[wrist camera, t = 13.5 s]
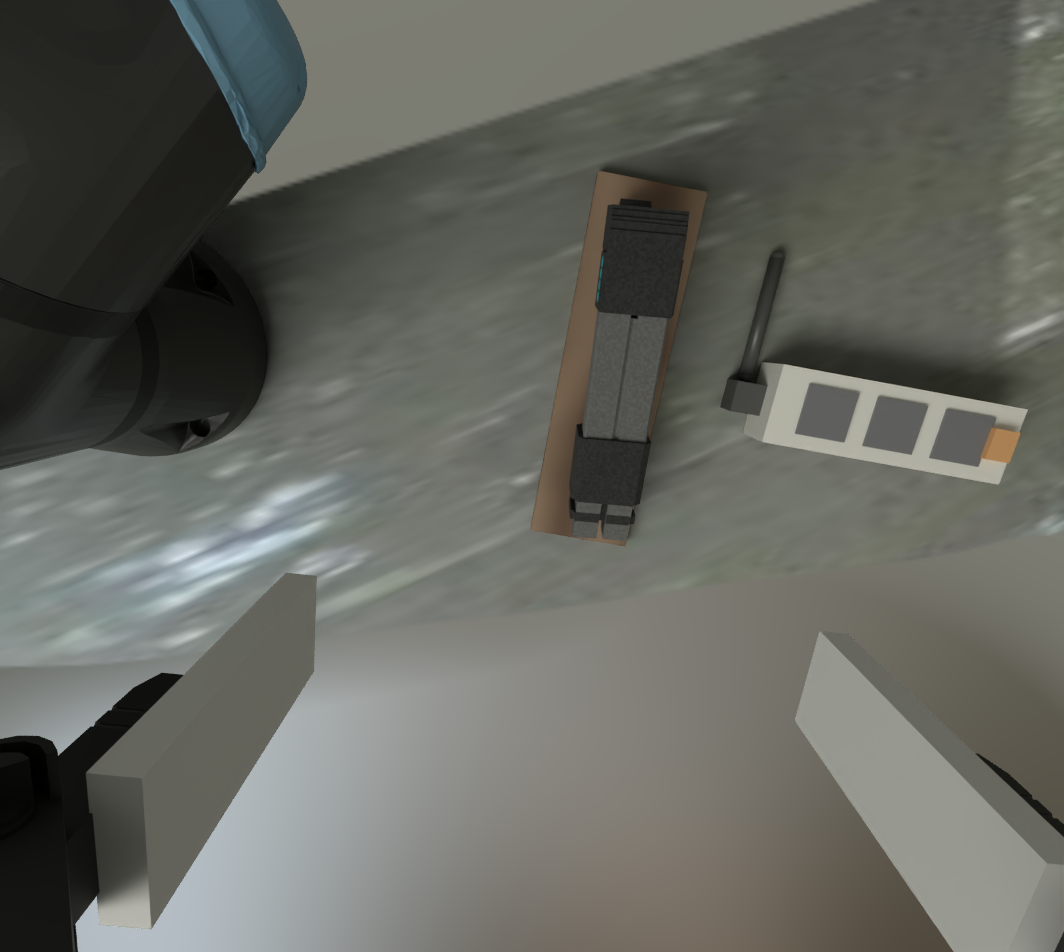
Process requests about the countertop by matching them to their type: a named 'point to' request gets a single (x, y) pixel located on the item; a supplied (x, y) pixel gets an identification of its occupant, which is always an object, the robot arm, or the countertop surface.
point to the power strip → (868, 413)
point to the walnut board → (580, 336)
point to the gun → (625, 364)
